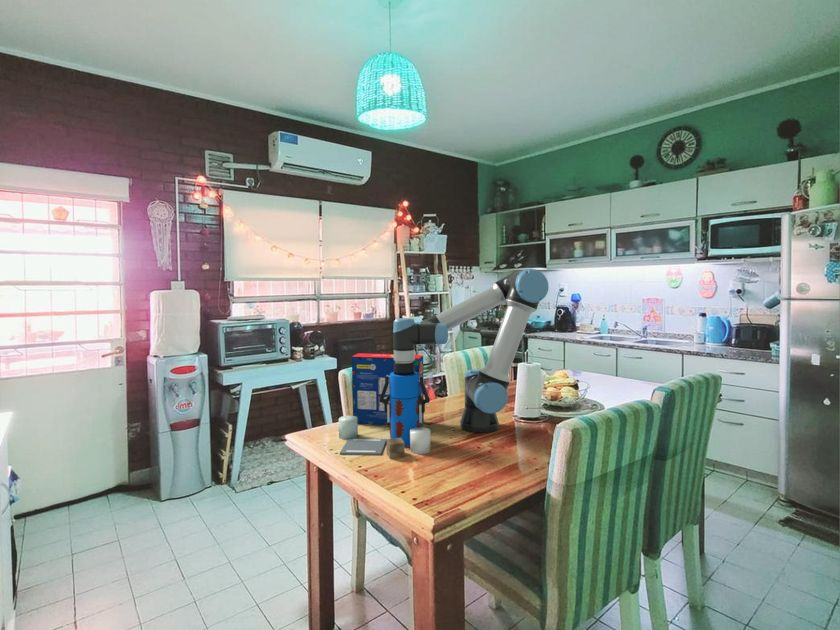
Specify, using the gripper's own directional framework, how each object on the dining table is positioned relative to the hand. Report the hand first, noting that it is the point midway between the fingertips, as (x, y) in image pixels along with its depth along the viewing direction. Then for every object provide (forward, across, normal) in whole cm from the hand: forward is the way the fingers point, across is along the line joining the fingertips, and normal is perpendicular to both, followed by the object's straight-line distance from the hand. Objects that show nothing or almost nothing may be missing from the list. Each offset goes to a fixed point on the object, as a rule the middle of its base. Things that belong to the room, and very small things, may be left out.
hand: (404, 421), depth 165 cm
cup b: (+8, +22, -5) cm, 24 cm away
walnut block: (+8, +2, +13) cm, 15 cm away
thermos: (+8, 0, 0) cm, 8 cm away
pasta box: (+8, +9, -22) cm, 25 cm away
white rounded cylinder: (+8, -6, +8) cm, 13 cm away
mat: (+8, +14, +6) cm, 17 cm away
